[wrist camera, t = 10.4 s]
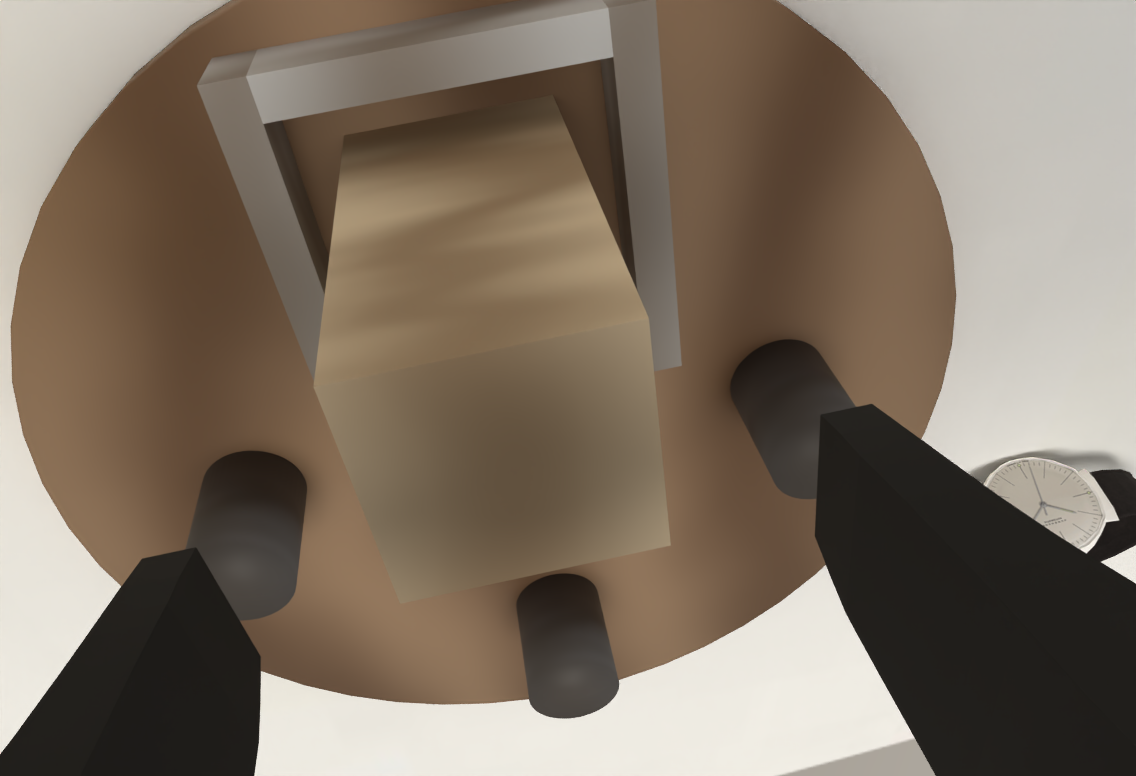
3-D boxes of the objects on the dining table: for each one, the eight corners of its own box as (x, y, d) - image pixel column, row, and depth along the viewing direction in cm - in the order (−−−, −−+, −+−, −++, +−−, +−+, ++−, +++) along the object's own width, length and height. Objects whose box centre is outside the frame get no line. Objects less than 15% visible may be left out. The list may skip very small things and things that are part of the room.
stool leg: (552, 95, 17) (648, 318, 10) (579, 275, 19) (670, 545, 13) (344, 135, 17) (313, 386, 10) (398, 312, 19) (399, 604, 13)
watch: (1131, 420, 27) (1221, 504, 24) (1104, 525, 29) (1180, 611, 27) (884, 483, 27) (943, 575, 24) (880, 582, 29) (932, 674, 27)
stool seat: (1003, -177, 16) (1152, -152, 13) (893, 593, 30) (953, 697, 26) (-222, 48, 15) (-384, 133, 12) (240, 737, 29) (221, 862, 25)
